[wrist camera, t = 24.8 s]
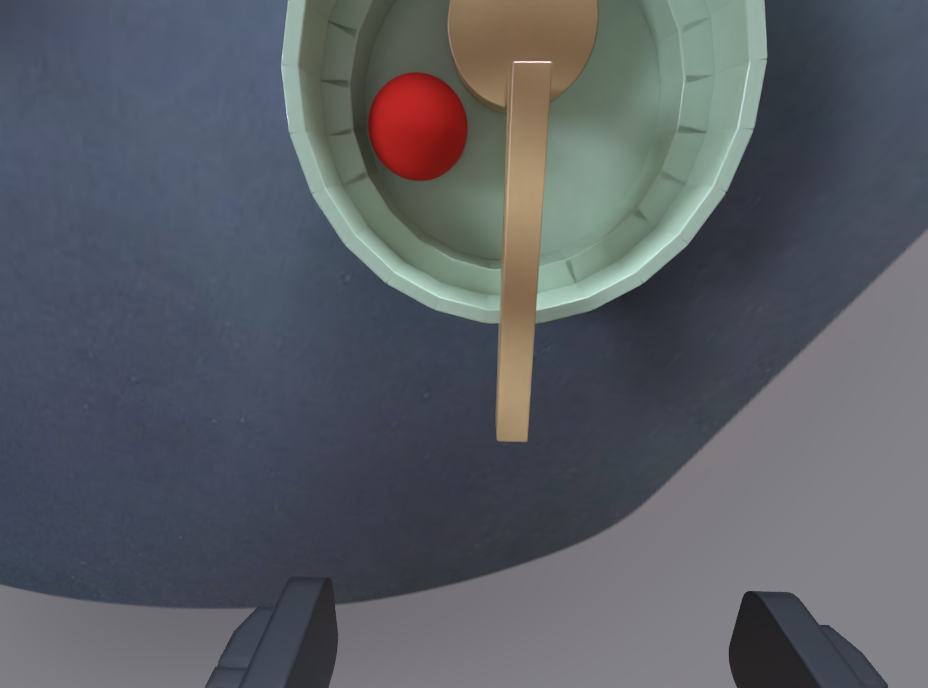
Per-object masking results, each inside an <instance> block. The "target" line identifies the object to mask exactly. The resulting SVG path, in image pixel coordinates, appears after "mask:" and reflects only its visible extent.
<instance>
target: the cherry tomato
mask: <svg viewBox="0 0 928 688" xmlns="http://www.w3.org/2000/svg"><path fill="white" fill-rule="evenodd" d="M368 131H369V137H370V141H371V144H372V147H373V149H374V151H375V153H376V155H377V157H378V158H379V159H380V161H381V162H382V163H383V164H384V165H385V167H386V168H388V169H389V170H390V171H391V172H393V173H394V174H396V175H398V176H400V177H402V178H405V179H408V180H413V181H427V180H432V179H435V178H437V177H440V176H441V175H443V174H445V173H446V172H448V171H449V170H450V169H451V168H452V167H453V166H454V165H455V164H456V162H457V161H458V160H459V158H460V156H461V155H462V152H463V150H464V147H465V144H466V140H467V131H468V126H467V118H466V113H465V110H464V107H463V105H462V103H461V101H460V99H459V97H458V96H457V94H456V93H455V92H454V90H453V89H452V88H451V87H450V86H449V85H448V84H446V83H445V82H444V81H443V80H441V79H439V78H437V77H435V76H433V75H430V74H426V73H419V72H412V73H406V74H402V75H400V76H397V77H395V78H393V79H392V80H390V81H389V82H387V83H386V84H385V85H384V86H383V87H382V88H381V89H380V91H379V92H378V93H377V95H376V96H375V98H374V100H373V103H372V105H371V108H370V112H369V119H368Z"/></svg>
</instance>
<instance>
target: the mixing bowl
mask: <svg viewBox="0 0 928 688" xmlns="http://www.w3.org/2000/svg"><path fill="white" fill-rule="evenodd" d="M449 3H450V0H288V6H287V16H286V25H285V34H284V43H283V52H282V61H281V64H282V65H281V70H282V78H283V87H284V95H285V103H286V111H287V120H288V128H289V133H290V137H291V139H292V142H293V145H294V148H295V150H296V153H297V156H298V159H299V161H300V164H301V167H302V170H303V172H304V175H305V178H306V180H307V183H308V186H309V189H310V191H311V193H312V196H313V198H314V199H315V201H316V202H317V204H318V205H319V207H320V208H321V210H322V211H323V213H324V214H325V216H326V217H327V219H328V220H329V222H330V223H331V225H332V226H333V228H334V229H335V231H336V232H337V234H338V235H339V237H340V239H341V240H342V242H343V243H344V244H345V245H346V247H347V248H348V249H350V250H351V251H352V252H353V253H354V254H355V255H356V256H357V257H358V258H359V259H360V260H361V261H362V262H363V263H365V264H366V265H367V266H368V267H369V268H370V269H371V270H372V271H373V272H374V273H375V274H376V275H377V276H379V277H380V278H381V279H382V280H383V281H384V282H385V283H387V284H388V285H390V286H392V287H393V288H395V289H397V290H399V291H401V292H402V293H404V294H406V295H408V296H410V297H411V298H413V299H415V300H417V301H419V302H420V303H422V304H424V305H426V306H428V307H430V308H431V309H435V310H436V311H440V312H444V313H447V314H451V315H455V316H459V317H463V318H467V319H471V320H474V321H478V322H482V323H499V311H500V285H501V259H502V233H503V206H504V180H505V154H506V128H507V114H504V113H500V112H497V111H494V110H491V109H489V108H488V107H486V106H484V105H482V104H481V103H480V102H478V101H477V100H476V99H475V98H474V97H473V96H472V95H471V94H470V93H469V92H468V91H467V89H466V88H465V87H464V85H463V83H462V82H461V80H460V78H459V76H458V74H457V71H456V69H455V65H454V62H453V58H452V54H451V50H450V46H449V40H448V30H447V20H448V9H449ZM598 10H599V22H598V31H597V37H596V41H595V45H594V49H593V51H592V54H591V56H590V59H589V61H588V63H587V65H586V66H585V68H584V70H583V71H582V73H581V74H580V76H579V77H578V78H577V80H576V81H575V82H574V83H573V84H572V85H571V86H570V87H569V88H568V89H567V90H566V91H565V92H564V93H563V94H561V95H560V96H559V97H558V98H557V99H556V100H554V101H553V102H552V103H550V110H549V125H548V140H547V155H546V170H545V185H544V200H543V215H542V230H541V245H540V260H539V275H538V290H537V305H536V320H535V324H538V323H544V322H548V321H552V320H556V319H560V318H564V317H568V316H572V315H576V314H581V313H585V312H589V311H591V310H594V309H596V308H598V307H600V306H602V305H604V304H606V303H608V302H609V301H611V300H613V299H615V298H617V297H619V296H621V295H623V294H625V293H627V292H629V291H631V290H632V289H634V288H636V287H638V286H640V285H642V283H645V282H646V281H647V280H648V279H649V278H650V277H652V276H653V275H654V274H655V273H656V272H657V271H659V270H660V269H661V268H662V267H663V266H664V265H666V264H667V263H668V262H669V261H670V260H671V259H672V258H674V257H675V256H676V255H677V254H678V253H679V252H681V251H682V250H683V249H684V248H685V247H686V246H687V245H688V244H689V243H690V242H691V240H692V239H693V238H694V236H695V235H696V234H697V232H698V231H699V230H700V228H701V227H702V225H703V224H704V223H705V221H706V220H707V219H708V217H709V216H710V215H711V213H712V212H713V210H714V209H715V208H716V206H717V205H718V204H719V202H720V201H721V200H722V198H723V197H724V196H725V194H726V193H725V192H727V191H728V188H729V186H730V184H731V181H732V179H733V177H734V175H735V172H736V170H737V168H738V165H739V163H740V161H741V159H742V156H743V154H744V152H745V149H746V147H747V145H748V143H749V140H750V138H751V136H752V133H753V129H754V127H755V122H756V117H757V111H758V106H759V101H760V96H761V90H762V85H763V80H764V74H765V69H766V64H767V60H766V59H767V39H766V19H765V0H598ZM412 72H419V73H426V74H430V75H433V76H435V77H437V78H439V79H441V80H443V81H444V82H445V83H446V84H448V85H449V86H450V87H451V88H452V89H453V90H454V92H455V93H456V94H457V96H458V97H459V99H460V101H461V103H462V105H463V107H464V110H465V113H466V118H467V126H468V131H467V140H466V144H465V147H464V150H463V152H462V155H461V156H460V158H459V160H458V161H457V162H456V164H455V165H454V166H453V167H452V168H451V169H450V170H449V171H448V172H446V173H445V174H443V175H441V176H440V177H437V178H435V179H432V180H427V181H413V180H408V179H405V178H402V177H400V176H398V175H396V174H394V173H393V172H391V171H390V170H389V169H388V168H386V167H385V165H384V164H383V163H382V162H381V161H380V159H379V158H378V157H377V155H376V153H375V151H374V149H373V147H372V144H371V141H370V137H369V131H368V119H369V112H370V108H371V105H372V103H373V100H374V98H375V96H376V95H377V93H378V92H379V91H380V89H381V88H382V87H383V86H384V85H385V84H386V83H387V82H389V81H390V80H392V79H393V78H395V77H397V76H400V75H402V74H406V73H412Z"/></svg>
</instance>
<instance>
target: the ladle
mask: <svg viewBox="0 0 928 688" xmlns="http://www.w3.org/2000/svg"><path fill="white" fill-rule="evenodd" d="M598 22H599V10H598V0H450V3H449V9H448V20H447V30H448V40H449V46H450V50H451V54H452V58H453V62H454V65H455V69H456V71H457V74H458V76H459V78H460V80H461V82H462V83H463V85H464V87H465V88H466V89H467V91H468V92H469V93H470V94H471V95H472V96H473V97H474V98H475V99H476V100H477V101H478V102H480V103H481V104H482V105H484V106H486V107H488V108H489V109H491V110H494V111H497V112H500V113H504V114H507V128H506V154H505V180H504V206H503V233H502V259H501V285H500V311H499V337H498V363H497V389H496V415H495V420H496V436H497V441H503V442H527V440H528V425H529V410H530V395H531V380H532V365H533V350H534V335H535V320H536V305H537V290H538V275H539V260H540V245H541V230H542V215H543V200H544V185H545V170H546V155H547V140H548V125H549V110H550V103H552V102H553V101H554V100H556V99H557V98H558V97H559V96H560V95H561V94H563V93H564V92H565V91H566V90H567V89H568V88H569V87H570V86H571V85H572V84H573V83H574V82H575V81H576V80H577V78H578V77H579V76H580V74H581V73H582V71H583V70H584V68H585V66H586V65H587V63H588V61H589V59H590V56H591V54H592V51H593V49H594V45H595V41H596V37H597V31H598Z"/></svg>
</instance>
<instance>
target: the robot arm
mask: <svg viewBox="0 0 928 688" xmlns="http://www.w3.org/2000/svg"><path fill="white" fill-rule="evenodd" d="M336 622H337V621H336V612H335V603H334V594H333V585H332V581H331V579H330V578H320V577H291V578H290V579H289V580H288V582H287V583H286V585H285V587H284V589H283V591H282V594H281V596H280V598H279V600H278V602H277V604H276V607H257V608H256V609H255V611H254V612H253V613H252V614H251V615H250V616H249V617H248V618H247V619H246V620H245V621H244V622H243V623H242V624H241V625H240V626H239V627H238V628H237V629H236V630H235V631H234V633H233V635H232V636H231V638H230V640H229V642H228V644H227V646H226V648H225V650H224V652H223V654H222V655H221V657H220V659H219V661H218V666H217V667H215V669H214V670H213V672H212V674H211V676H210V678H209V680H208V682H207V684H206V686H205V688H328V687H329V684H330V680H331V676H332V673H333V669H334V665H335V660H336V654H337V644H338V631H337V623H336ZM729 663H730V668H731V672H732V675H733V678H734V681H735V684H736V685H737V688H888V685H887V683H886V682H885V681H884V680H883V678H882V677H881V676H880V675H879V673H878V672H877V671H876V670H875V668H874V667H873V666H872V665H871V663H870V662H869V661H868V660H867V658H866V657H865V656H864V655H863V653H862V652H860V651H859V650H858V649H857V648H856V647H855V646H853V645H852V644H851V643H850V642H848V641H847V640H846V639H845V638H844V637H842V636H841V635H840V634H839V633H838V632H836V631H835V630H834V629H833V628H831V627H830V626H829V625H819V624H818V623H817V622H816V620H815V619H814V618H813V616H812V615H811V614H810V612H809V611H808V610H807V608H806V607H805V606H804V604H803V603H802V602H801V601H800V599H799V598H797V597H796V596H795V595H794V594H792V593H788V592H760V591H748V592H746V593H745V594H744V596H743V598H742V602H741V605H740V609H739V613H738V617H737V620H736V624H735V627H734V631H733V635H732V638H731V642H730V646H729Z"/></svg>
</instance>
